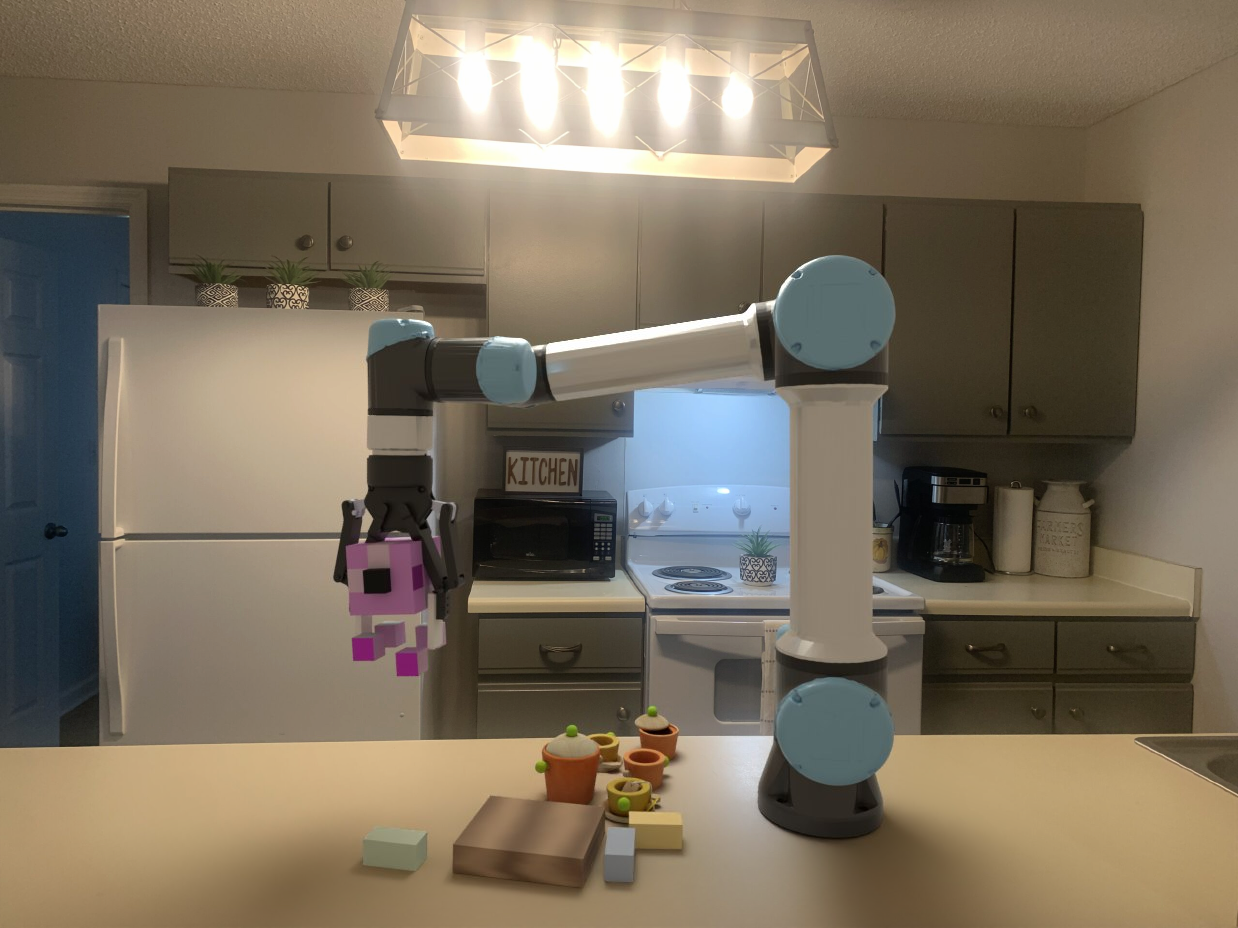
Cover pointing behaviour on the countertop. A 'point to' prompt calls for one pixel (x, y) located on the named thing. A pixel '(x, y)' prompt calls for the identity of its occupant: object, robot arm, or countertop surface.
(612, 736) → the toy tea set
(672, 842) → the brick ochre
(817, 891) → the countertop surface
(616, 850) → the brick slate
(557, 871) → the pedestal
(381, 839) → the brick sage
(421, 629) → the toy
